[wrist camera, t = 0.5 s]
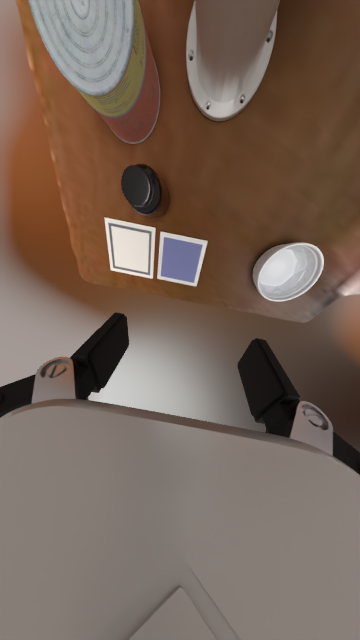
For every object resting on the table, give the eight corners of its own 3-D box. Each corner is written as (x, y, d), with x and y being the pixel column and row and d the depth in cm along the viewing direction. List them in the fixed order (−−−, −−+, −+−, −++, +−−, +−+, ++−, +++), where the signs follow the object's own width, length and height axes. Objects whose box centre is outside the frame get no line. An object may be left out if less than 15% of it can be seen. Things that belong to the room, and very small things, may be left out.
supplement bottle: (134, 189, 31) (104, 170, 21) (161, 170, 28) (142, 139, 19) (150, 223, 34) (130, 221, 24) (174, 209, 32) (164, 200, 22)
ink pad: (157, 277, 41) (157, 278, 40) (161, 231, 34) (160, 231, 34) (196, 285, 41) (196, 286, 41) (207, 240, 35) (207, 241, 34)
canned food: (162, 34, 20) (130, -146, 11) (158, 148, 27) (135, 102, 17) (89, 21, 20) (-12, -172, 11) (102, 138, 27) (47, 86, 17)
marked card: (111, 269, 41) (110, 270, 41) (105, 217, 34) (104, 217, 34) (153, 278, 42) (152, 278, 41) (155, 227, 34) (155, 227, 34)
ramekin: (316, 247, 33) (341, 251, 27) (282, 296, 41) (296, 307, 35) (264, 234, 33) (279, 235, 27) (239, 285, 40) (247, 295, 34)
